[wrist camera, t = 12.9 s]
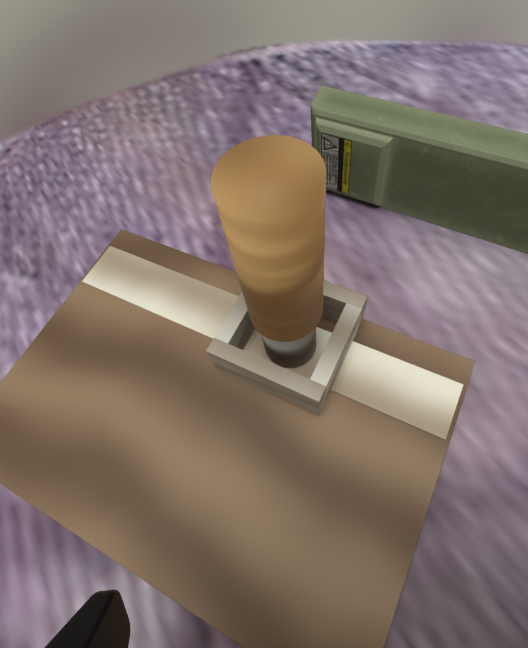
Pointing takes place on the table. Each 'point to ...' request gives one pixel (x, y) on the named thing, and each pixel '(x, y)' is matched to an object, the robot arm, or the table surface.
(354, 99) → the handheld radio
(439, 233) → the table surface
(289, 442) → the board
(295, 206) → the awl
